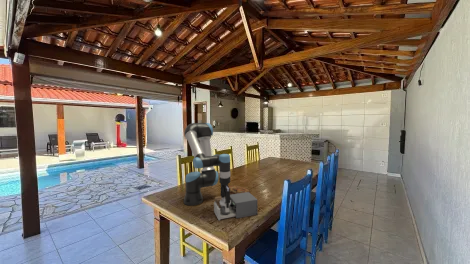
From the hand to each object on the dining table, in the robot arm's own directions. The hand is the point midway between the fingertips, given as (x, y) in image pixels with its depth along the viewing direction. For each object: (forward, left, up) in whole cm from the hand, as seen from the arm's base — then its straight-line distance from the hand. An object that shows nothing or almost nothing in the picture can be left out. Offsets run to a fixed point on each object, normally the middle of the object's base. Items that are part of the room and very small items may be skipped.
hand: (225, 209), depth 132 cm
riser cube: (-15, 0, -4) cm, 15 cm away
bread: (-22, +18, -4) cm, 29 cm away
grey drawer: (0, +1, -4) cm, 4 cm away
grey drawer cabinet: (0, +13, -4) cm, 14 cm away
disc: (0, 0, +4) cm, 4 cm away
